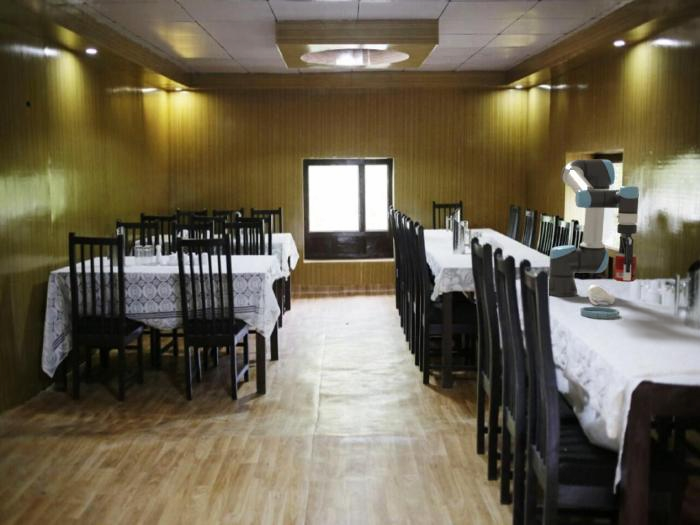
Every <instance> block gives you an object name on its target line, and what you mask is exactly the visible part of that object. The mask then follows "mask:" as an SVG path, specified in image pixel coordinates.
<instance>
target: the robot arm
mask: <svg viewBox="0 0 700 525" xmlns="http://www.w3.org/2000/svg"><path fill="white" fill-rule="evenodd" d="M560 176H561V179H562V181H563V183H564V184H565V185H566V186H567V187H570V188H571V191H573V193H574V194H575V196H574V197H575V199H574V202H575V206H576V207H578V208H583V209H584V211H585V213H584V223H583V224H584V227H583V240H582V241H581V243H579V248H577V247H576V245H574V244H573V245H571V244H570V245H569V244H568V245H559V246H554V247H552V248H551V249H550V253H549V270H548V271H549V274H548V275H549V276H548V280H549V294H550V295H549V296H553V297H574V296H575V295H576V296H578V288H577V283H576V281H575V280H576V279H575V273H579V274H580V273H582V274H583V273H585V274H587V273H588V274H597V273H598V274H601V273H603V272H604V271H605V270H606V268H607V266H608V264H609V258H610V257H609V250H608V249H607V248H606V245H605V244H604V243H603V235H604V234H603V231H604V220H605V209H618V212H617V213H618V214H617V215H616V218H617V223H618V224H617V229H616V230H617V233H618V234H621V236H619V247H618V253H622V254H624V255H625V263H623V265H624V273H623V280H630V279H631V264H633V254H634V239H633V238H632V235H636V234H637V230H638V225H637V224H638V218H639V215H638V212H639V211H638V210H639V196H640V193H639V190H640V189H639V186H637V185H636V186H635V185H634V186H633V185H622V186H619V189H610V186H612V185H613V184H614V183H615V179H616V174H615V168H614V165H613V162H612V161H611V160H609V159H603V158H602V159H600V158H599V159H590V158H589V159H581V158H579V159H575V160H571V161H570V162H568V163H566V164H565V165H564V166H563V168H562V170H561V174H560Z"/></svg>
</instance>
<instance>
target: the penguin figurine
mask: <svg viewBox="0 0 700 525" xmlns="http://www.w3.org/2000/svg"><path fill="white" fill-rule="evenodd" d="M587 293H588V299H589V302H590V303H591V304H592V305H594V304H595V305H594V306H597V303H600V302H605V301H606V302H607V304H608V305H611V304H612V305H613V303H614V302H616V297H615V295H614V294H613V293H609V292H607V291H606V290H605V289H604V287H602V286H600V285H598V284H597V285H596V284H592V285H590V286H589V287H588V290H587Z"/></svg>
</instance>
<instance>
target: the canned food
mask: <svg viewBox="0 0 700 525" xmlns="http://www.w3.org/2000/svg"><path fill="white" fill-rule="evenodd" d="M614 259H615V260H614V261H615V262H614V263H615V264H614V280H615V281H617V282H626V283H628V282H629V283H632V282H634V281H635V280H636V266H637V263H636V262H637V254H635V253H633V264H631V279H630V280H623V273H624V265H623V263H625V255H624V254H622V253H619V252H617V253H616V254H615V257H614Z"/></svg>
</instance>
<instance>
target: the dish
mask: <svg viewBox="0 0 700 525" xmlns="http://www.w3.org/2000/svg"><path fill="white" fill-rule="evenodd" d="M579 309H580V315H581V316H582V317H585V318H590V317H591V319H598V318H602V319H601V320H610V319H612V318H613V319H617V317H618V318H619V316H620V310H619V309H616V308H612V307H605V306H584V307H581V308H579Z"/></svg>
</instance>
